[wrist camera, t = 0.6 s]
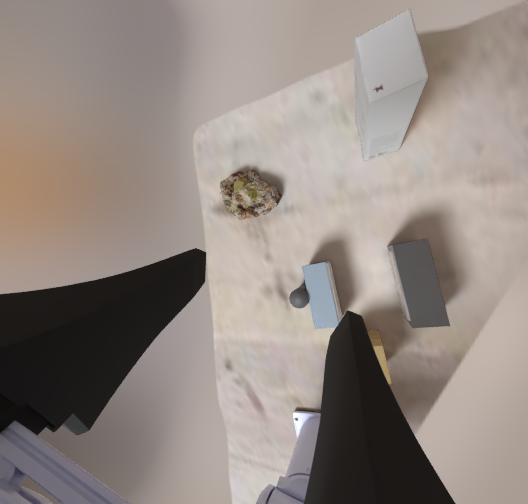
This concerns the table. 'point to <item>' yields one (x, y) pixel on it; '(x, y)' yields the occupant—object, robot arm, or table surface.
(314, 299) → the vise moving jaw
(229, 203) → the mineral rock
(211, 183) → the table surface
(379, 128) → the skincare box
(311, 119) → the table surface
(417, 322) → the grey block
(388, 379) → the brass block
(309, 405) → the table surface
